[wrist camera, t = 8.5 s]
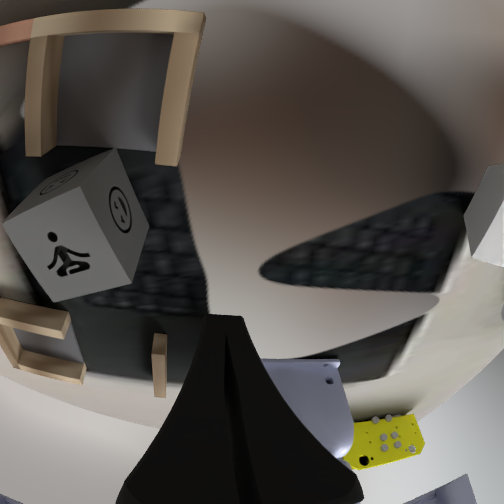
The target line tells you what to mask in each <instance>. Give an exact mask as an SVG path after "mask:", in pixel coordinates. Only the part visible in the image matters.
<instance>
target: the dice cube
mask: <svg viewBox="0 0 504 504" xmlns="http://www.w3.org/2000/svg"><path fill="white" fill-rule="evenodd" d="M2 226H3V227H4V229H5V231H6V233H7V234H8V236H9V238H10V239H11V241H12V243H13V244H14V246H15V247H16V249H17V251H18V252H19V254H20V255H21V257H22V258H23V260H24V261H25V263H26V264H27V266H28V267H29V269H30V270H31V272H32V273H33V275H34V276H35V278H36V279H37V281H38V282H39V283H40V285H41V286H42V288H43V289H44V290H45V292H46V293H47V294H48V296H49V297H50V298H51V300H52V301H53V302H58V301H62V300H66V299H70V298H74V297H78V296H82V295H87V294H91V293H95V292H99V291H103V290H107V289H111V288H115V287H119V286H123V285H127V284H131V283H132V281H133V278H134V274H135V271H136V267H137V264H138V261H139V257H140V254H141V251H142V248H143V244H144V241H145V238H146V235H147V232H148V229H149V224H148V222H147V220H146V217H145V215H144V213H143V211H142V209H141V206H140V204H139V202H138V199H137V197H136V195H135V193H134V190H133V188H132V186H131V183H130V181H129V179H128V176H127V174H126V171H125V169H124V166H123V164H122V162H121V159H120V157H119V154H118V152H117V149H116V148H113V149H110V150H108V151H105V152H103V153H101V154H98V155H96V156H94V157H91V158H89V159H87V160H84V161H82V162H80V163H78V164H76V165H73V166H71V167H69V168H67V169H65V170H63V171H61V172H59V173H57V174H54V175H52V176H50V177H48V178H46V179H45V180H44V181H43V182H42V183H41V184H40V185H39V186H38V187H36V188H35V189H34V190H33V191H32V192H31V193H30V194H29V195H28V196H27V197H26V198H25V199H24V200H23V201H22V202H21V203H20V204H19V206H18V207H17V208H16V209H15V210H14V211H13V212H12V213H11V214H10V215H9V216H8V217H7V218H6V219H5V221H4V222H3V223H2Z"/></svg>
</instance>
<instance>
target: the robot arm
mask: <svg viewBox="0 0 504 504" xmlns="http://www.w3.org/2000/svg"><path fill="white" fill-rule="evenodd" d="M339 365H340V361H339V359H260V357H259V355H258V353H257V351H256V349H255V347H254V345H253V343H252V340H251V338H250V335H249V333H248V330H247V327H246V325H245V322H244V318H243V317H242V316H232V315H217V314H205V315H204V316H203V321H202V330H201V335H200V339H199V342H198V346H197V349H196V352H195V355H194V358H193V361H192V364H191V367H190V369H189V372H188V374H187V377H186V379H185V381H184V384H183V386H182V388H181V391H180V393H179V395H178V397H177V399H176V401H175V403H174V405H173V407H172V409H171V411H170V413H169V414H168V416H167V418H166V420H165V422H164V424H163V425H162V427H161V429H160V431H159V432H158V434H157V435H156V437H155V439H154V440H153V442H152V443H151V445H150V446H149V448H148V449H147V451H146V452H145V454H144V455H143V457H142V458H141V460H140V461H139V462H138V464H137V465H136V466H135V468H134V469H133V470H132V472H131V473H130V474H129V476H128V477H127V478H126V480H125V481H124V484H123V486H122V488H121V490H120V492H119V495H118V497H117V500H116V504H360V502H361V501H362V500H363V499H364V495H363V491H362V487H361V485H360V482H359V480H358V478H357V475H356V474H355V473H354V472H353V471H352V468H351V466H350V464H349V462H347V461H345V460H343V459H342V458H341V457H343V456H345V455H346V454H347V453H348V452H349V450H350V448H351V446H352V443H353V438H354V424H353V418H352V415H351V411H350V408H349V405H348V401H347V398H346V395H345V391H344V388H343V385H342V382H341V379H340V375H339V372H338V369H337V368H338V366H339ZM0 504H23V503H20V502H18V501H16V500H13V499H11V498H9V497H7V496H4V495H2V494H0ZM404 504H477V503H476V500H475V496H474V493H473V490H472V487H471V484H470V481H469V478H468V475H467V474H465V475H463V476H461V477H459V478H457V479H455V480H453V481H451V482H449V483H447V484H446V485H443V486H441V487H439V488H437V489H435V490H433V491H430V492H428V493H426V494H424V495H421V496H419V497H417V498H415V499H413V500H411V501H408V502H406V503H404Z"/></svg>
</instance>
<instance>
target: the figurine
mask: <svg viewBox="0 0 504 504" xmlns="http://www.w3.org/2000/svg"><path fill="white" fill-rule="evenodd" d="M464 220H465V225H466V230H467V235H468V240H469V246H470V252H471V258H474V259H478V260H481V261H484V262H487V263H491V264H494V265H497V266H500V267H503V268H504V164H497V165H489V166H488V167H487V169H486V171H485V173H484V175H483V178H482V180H481V182H480V184H479V186H478V188H477V190H476V192H475V194H474V196H473V198H472V200H471V202H470V204H469V206H468V208H467V210H466V212H465V214H464Z"/></svg>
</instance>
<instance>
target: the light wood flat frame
mask: <svg viewBox="0 0 504 504" xmlns="http://www.w3.org/2000/svg"><path fill="white" fill-rule="evenodd" d="M205 22H206V17H205V14H204V13H203V12H193V11H181V10H167V9H105V10H91V11H80V12H71V13H63V14H56V15H50V16H44V17H38V18H33V19H28V20H23V21H19V22H15V23H10V24H7V25H3V26H0V46H5V45H9V44H14V43H19V42H25V41H30V45H29V53H28V62H27V73H26V89H25V149H26V156H39V157H41V156H43V155H44V154H45V153H47V152H48V151H49V150H51V149H52V148H54V147H55V146H57V145H63V146H88V147H106V148H120V149H133V150H144V151H155V152H156V158H155V164H159V165H168V166H177V164H178V161H179V158H180V155H181V152H182V145H183V138H184V131H185V124H186V119H187V112H188V106H189V100H190V94H191V88H192V83H193V78H194V72H195V68H196V63H197V58H198V53H199V48H200V44H201V39H202V35H203V30H204V26H205ZM0 346H1V347H2V349H3V351H4V353H5V354H6V356H7V358H8V359H9V361H10V363H11V364H12V366H13V367H14V368H17V369H20V370H24V371H27V372H31V373H34V374H38V375H41V376H45V377H49V378H53V379H57V380H61V381H66V382H70V383H74V384H79V385H82V384H83V380H84V376H85V372H86V365H85V363H84V360H83V357H82V354H81V351H80V348H79V345H78V342H77V339H76V335H75V332H74V329H73V325H72V322H71V318H70V315H69V312H67V311H62V310H56V309H51V308H46V307H41V306H37V305H32V304H27V303H23V302H18V301H14V300H9V299H5V298H1V296H0ZM152 370H153V383H154V395H155V397H160V398H166V384H167V334H158V333H154V339H153V346H152Z"/></svg>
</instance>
